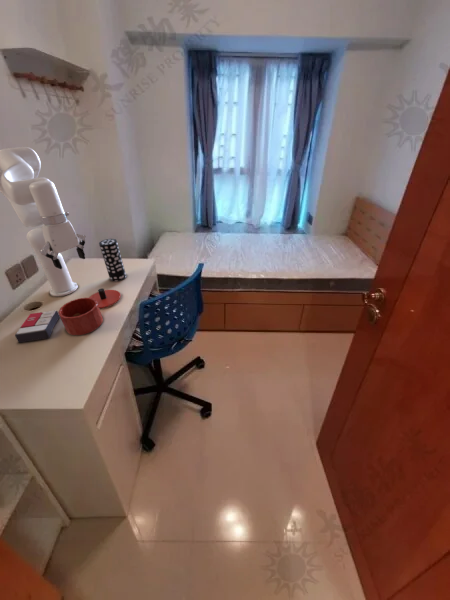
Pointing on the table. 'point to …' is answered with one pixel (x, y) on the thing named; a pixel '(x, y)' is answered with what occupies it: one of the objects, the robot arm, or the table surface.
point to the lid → (106, 297)
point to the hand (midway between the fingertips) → (71, 263)
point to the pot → (81, 316)
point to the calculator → (37, 326)
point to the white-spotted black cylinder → (112, 259)
